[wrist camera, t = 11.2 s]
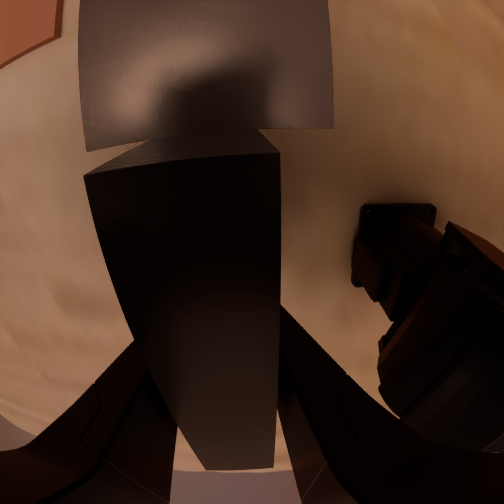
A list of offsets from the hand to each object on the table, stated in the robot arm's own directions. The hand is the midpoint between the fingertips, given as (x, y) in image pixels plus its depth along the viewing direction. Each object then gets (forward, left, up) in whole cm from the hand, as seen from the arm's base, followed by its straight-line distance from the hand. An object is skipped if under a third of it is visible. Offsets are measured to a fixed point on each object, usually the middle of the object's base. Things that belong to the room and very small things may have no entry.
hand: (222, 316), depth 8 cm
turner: (0, -4, -1) cm, 4 cm away
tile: (+14, -13, -10) cm, 22 cm away
